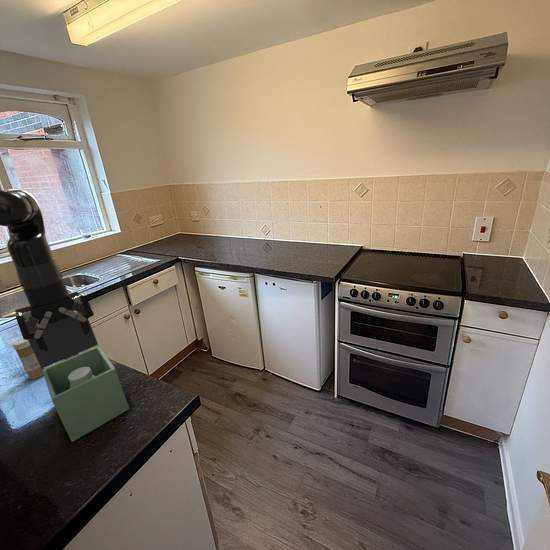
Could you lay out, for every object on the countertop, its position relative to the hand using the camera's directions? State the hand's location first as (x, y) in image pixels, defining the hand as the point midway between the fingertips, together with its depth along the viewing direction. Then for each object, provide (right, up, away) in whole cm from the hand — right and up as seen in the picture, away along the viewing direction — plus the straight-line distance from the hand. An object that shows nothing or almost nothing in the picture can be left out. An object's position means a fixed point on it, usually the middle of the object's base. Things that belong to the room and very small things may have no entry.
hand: (66, 341), depth 73 cm
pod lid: (-6, +2, +6) cm, 9 cm away
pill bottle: (+2, -20, +8) cm, 21 cm away
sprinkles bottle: (-27, -17, +25) cm, 40 cm away
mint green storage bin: (+2, -20, +8) cm, 22 cm away
